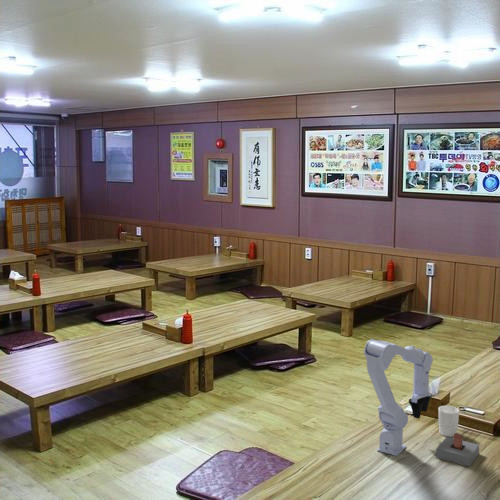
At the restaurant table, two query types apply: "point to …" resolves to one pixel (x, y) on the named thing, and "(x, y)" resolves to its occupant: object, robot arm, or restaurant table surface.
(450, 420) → the white cup
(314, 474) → the restaurant table surface
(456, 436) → the pin
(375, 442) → the restaurant table surface
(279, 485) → the restaurant table surface
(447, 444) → the block
